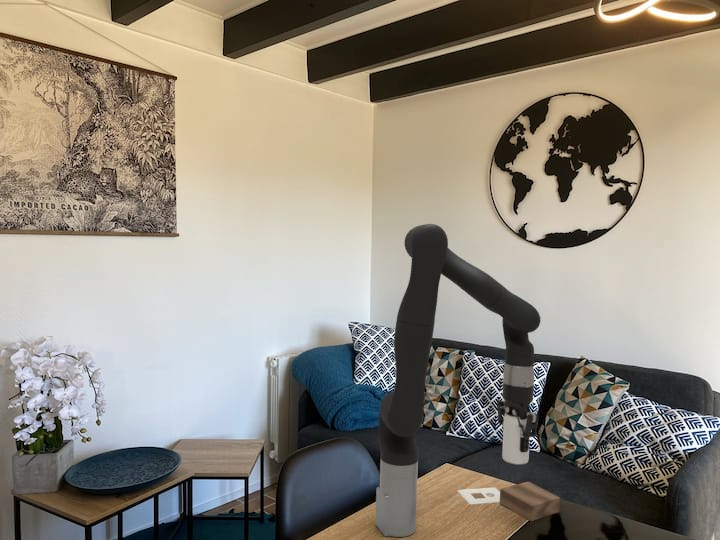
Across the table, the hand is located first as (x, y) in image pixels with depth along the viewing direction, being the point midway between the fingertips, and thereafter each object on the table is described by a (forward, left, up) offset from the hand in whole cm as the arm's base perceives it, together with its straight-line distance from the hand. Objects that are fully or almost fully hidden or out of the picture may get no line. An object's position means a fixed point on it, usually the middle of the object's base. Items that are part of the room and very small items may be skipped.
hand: (515, 447), depth 139 cm
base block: (+9, +5, -19) cm, 22 cm away
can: (0, 0, -4) cm, 4 cm away
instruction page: (+1, +15, -19) cm, 24 cm away
